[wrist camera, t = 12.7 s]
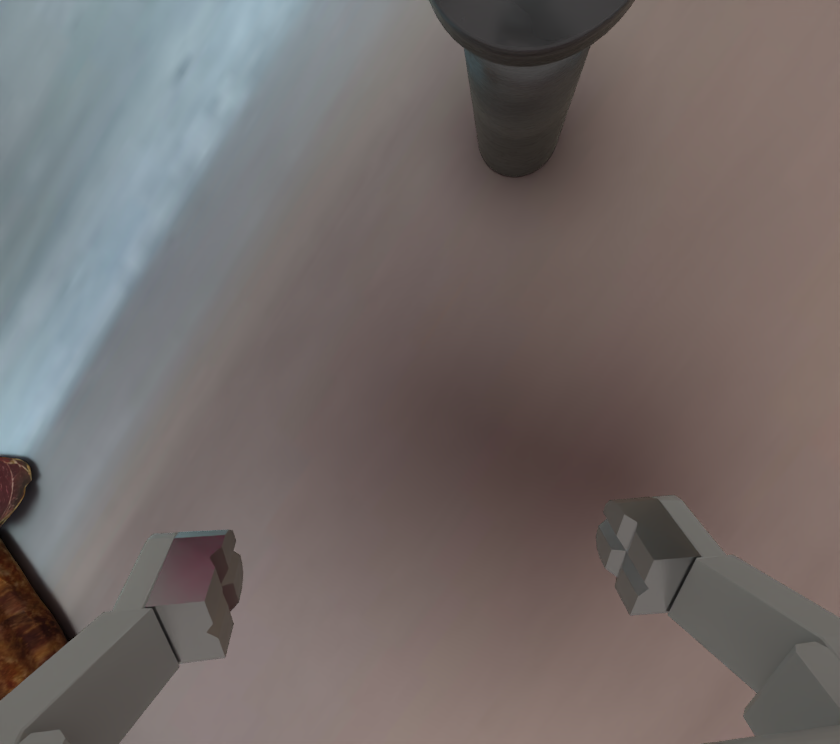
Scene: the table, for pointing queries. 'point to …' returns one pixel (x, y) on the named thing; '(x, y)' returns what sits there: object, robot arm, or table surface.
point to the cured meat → (20, 597)
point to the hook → (524, 69)
